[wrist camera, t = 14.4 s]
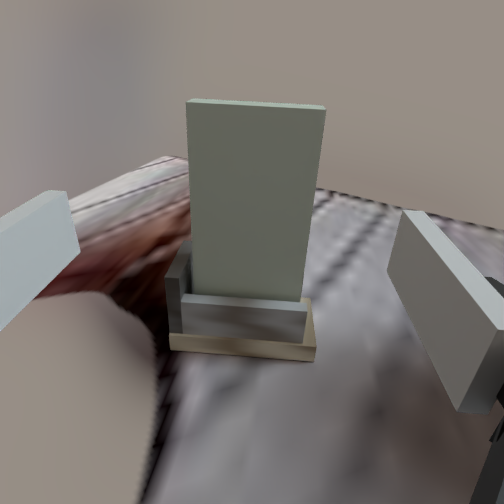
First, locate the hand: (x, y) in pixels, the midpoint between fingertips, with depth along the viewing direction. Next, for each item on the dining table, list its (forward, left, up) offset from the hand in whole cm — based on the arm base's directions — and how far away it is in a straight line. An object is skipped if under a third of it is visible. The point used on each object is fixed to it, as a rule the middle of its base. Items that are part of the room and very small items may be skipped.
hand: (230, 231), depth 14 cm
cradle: (+6, -8, -14) cm, 17 cm away
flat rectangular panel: (+6, -8, -12) cm, 16 cm away
